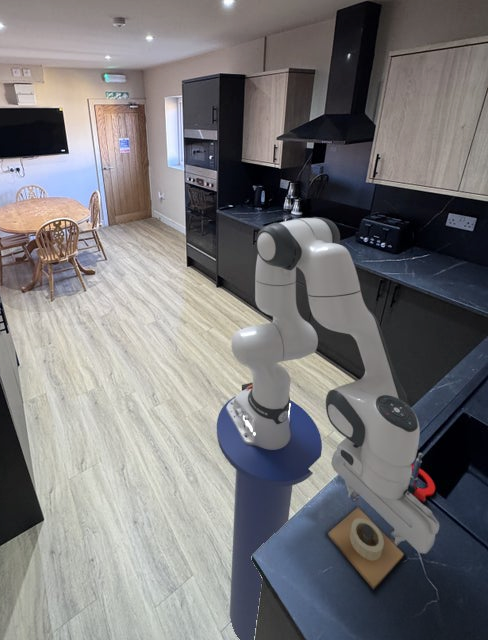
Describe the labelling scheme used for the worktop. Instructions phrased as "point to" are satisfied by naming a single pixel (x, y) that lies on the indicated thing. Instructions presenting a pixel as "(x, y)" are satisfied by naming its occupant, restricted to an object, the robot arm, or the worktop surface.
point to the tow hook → (413, 480)
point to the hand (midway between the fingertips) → (372, 518)
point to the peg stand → (368, 568)
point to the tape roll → (362, 548)
